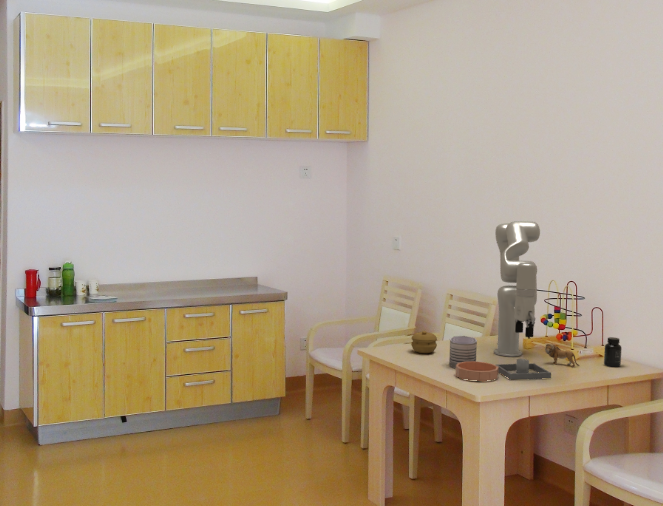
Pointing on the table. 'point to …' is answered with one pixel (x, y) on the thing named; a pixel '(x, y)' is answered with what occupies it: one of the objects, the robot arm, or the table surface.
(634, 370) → the table surface
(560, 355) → the lion figurine
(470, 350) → the can
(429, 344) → the pot
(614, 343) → the supplement bottle
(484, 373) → the bowl
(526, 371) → the grey cylinder
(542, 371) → the tray
